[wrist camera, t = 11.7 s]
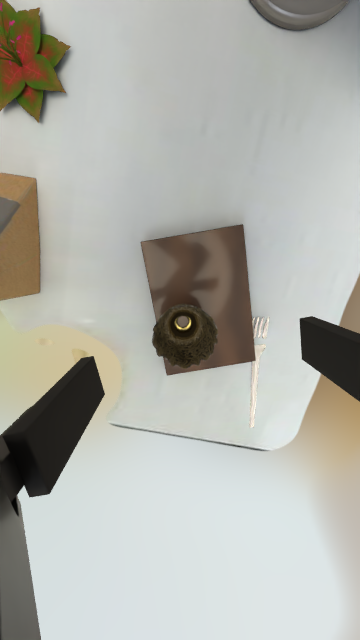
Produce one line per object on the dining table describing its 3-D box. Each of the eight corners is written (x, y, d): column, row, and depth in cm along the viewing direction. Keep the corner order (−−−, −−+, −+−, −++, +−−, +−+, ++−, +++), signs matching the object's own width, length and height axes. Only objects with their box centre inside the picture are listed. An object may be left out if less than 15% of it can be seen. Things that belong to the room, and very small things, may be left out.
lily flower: (-45, 84, 27) (-89, 47, 22) (-8, -27, 25) (-48, -93, 20) (48, 145, 28) (24, 122, 24) (90, 47, 26) (73, 1, 22)
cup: (218, 319, 33) (232, 335, 25) (184, 354, 34) (188, 380, 26) (180, 285, 31) (182, 291, 24) (147, 323, 32) (138, 340, 25)
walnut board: (240, 226, 31) (243, 224, 30) (252, 357, 36) (255, 361, 34) (142, 243, 31) (140, 241, 30) (167, 371, 36) (166, 375, 34)
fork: (241, 425, 39) (244, 432, 37) (246, 314, 35) (250, 317, 33) (259, 424, 39) (263, 432, 37) (267, 314, 35) (272, 316, 33)
